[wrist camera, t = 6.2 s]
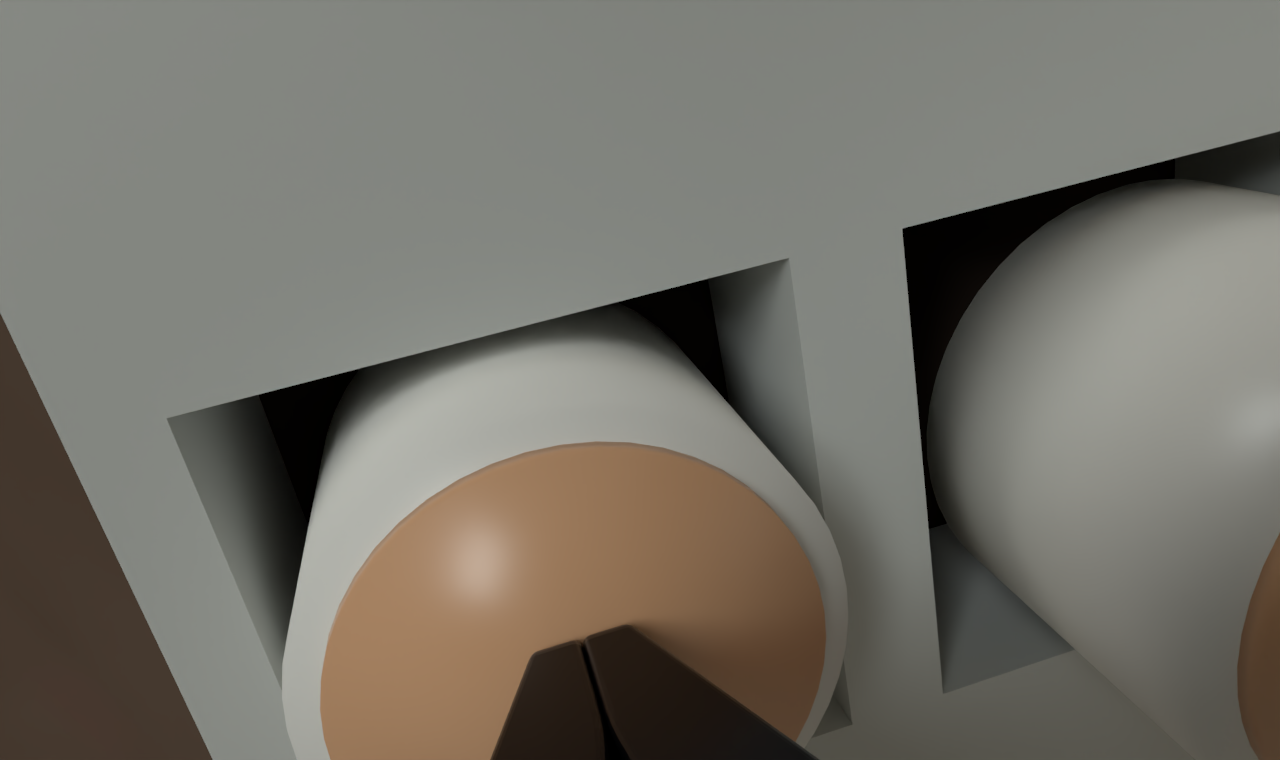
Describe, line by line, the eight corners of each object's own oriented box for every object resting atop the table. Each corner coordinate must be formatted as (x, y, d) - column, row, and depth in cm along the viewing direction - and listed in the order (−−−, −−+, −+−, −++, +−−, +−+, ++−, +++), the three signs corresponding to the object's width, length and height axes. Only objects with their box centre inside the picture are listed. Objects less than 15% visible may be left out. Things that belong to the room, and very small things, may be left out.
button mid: (1329, 131, 10) (1870, 188, 6) (1296, 523, 12) (1701, 743, 8) (907, 242, 9) (1239, 378, 6) (942, 639, 11) (1209, 938, 7)
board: (1710, -407, 12) (2117, -544, 9) (1524, 556, 17) (1742, 658, 14) (-26, -99, 9) (-225, -161, 6) (406, 944, 14) (406, 1166, 11)
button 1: (683, 239, 11) (824, 343, 7) (745, 584, 13) (881, 806, 9) (260, 345, 10) (180, 518, 7) (390, 693, 12) (384, 982, 8)
